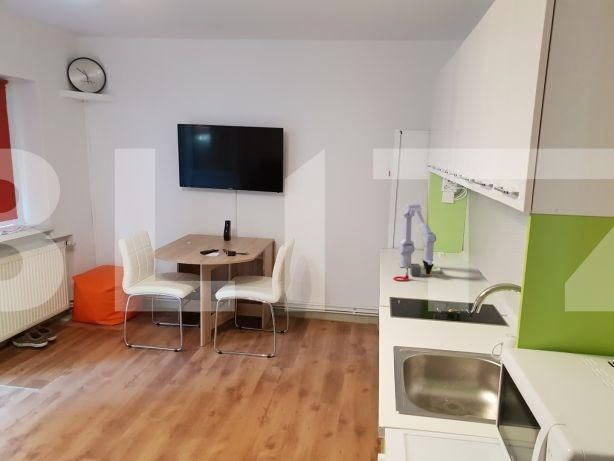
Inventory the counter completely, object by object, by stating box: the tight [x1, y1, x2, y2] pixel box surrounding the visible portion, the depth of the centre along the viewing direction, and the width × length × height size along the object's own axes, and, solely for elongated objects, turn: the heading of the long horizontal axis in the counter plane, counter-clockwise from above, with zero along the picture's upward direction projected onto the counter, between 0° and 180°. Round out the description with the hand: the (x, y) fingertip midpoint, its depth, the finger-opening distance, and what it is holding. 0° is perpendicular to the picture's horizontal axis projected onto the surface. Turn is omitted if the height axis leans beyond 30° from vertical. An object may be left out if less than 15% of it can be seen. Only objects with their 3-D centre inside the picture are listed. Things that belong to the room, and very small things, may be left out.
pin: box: [409, 266, 433, 277], centre depth 278 cm, size 4×13×4 cm, turn 85°
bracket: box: [411, 262, 422, 278], centre depth 278 cm, size 9×5×6 cm, turn 175°
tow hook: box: [392, 259, 410, 282], centre depth 267 cm, size 8×13×9 cm
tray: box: [420, 265, 442, 275], centre depth 287 cm, size 10×18×2 cm, turn 85°
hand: (427, 273), depth 278 cm, fingers closed on pin, 4 cm apart
